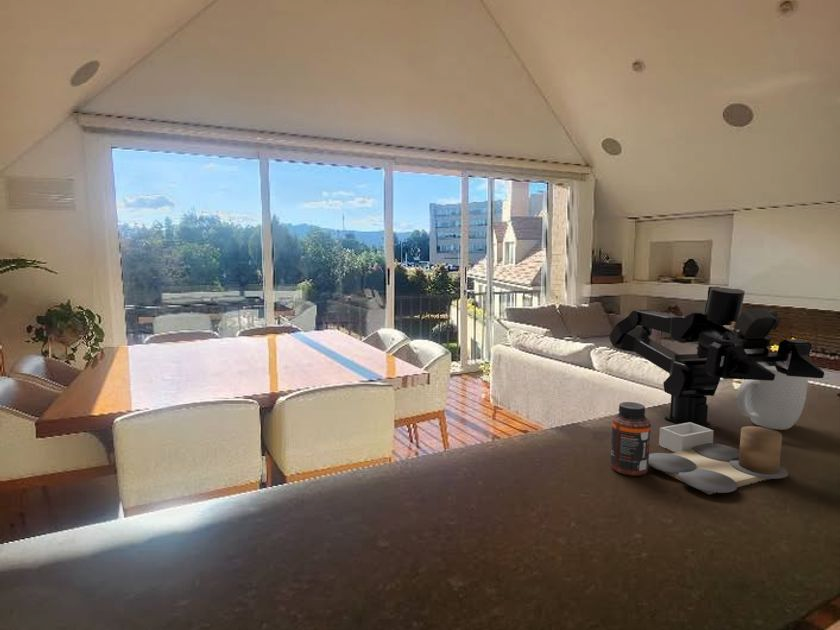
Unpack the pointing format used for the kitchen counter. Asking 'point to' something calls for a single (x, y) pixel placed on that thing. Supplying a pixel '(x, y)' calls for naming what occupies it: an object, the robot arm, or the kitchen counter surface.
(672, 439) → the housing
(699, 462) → the board
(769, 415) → the mug
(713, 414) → the kitchen counter surface
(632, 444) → the supplement bottle
